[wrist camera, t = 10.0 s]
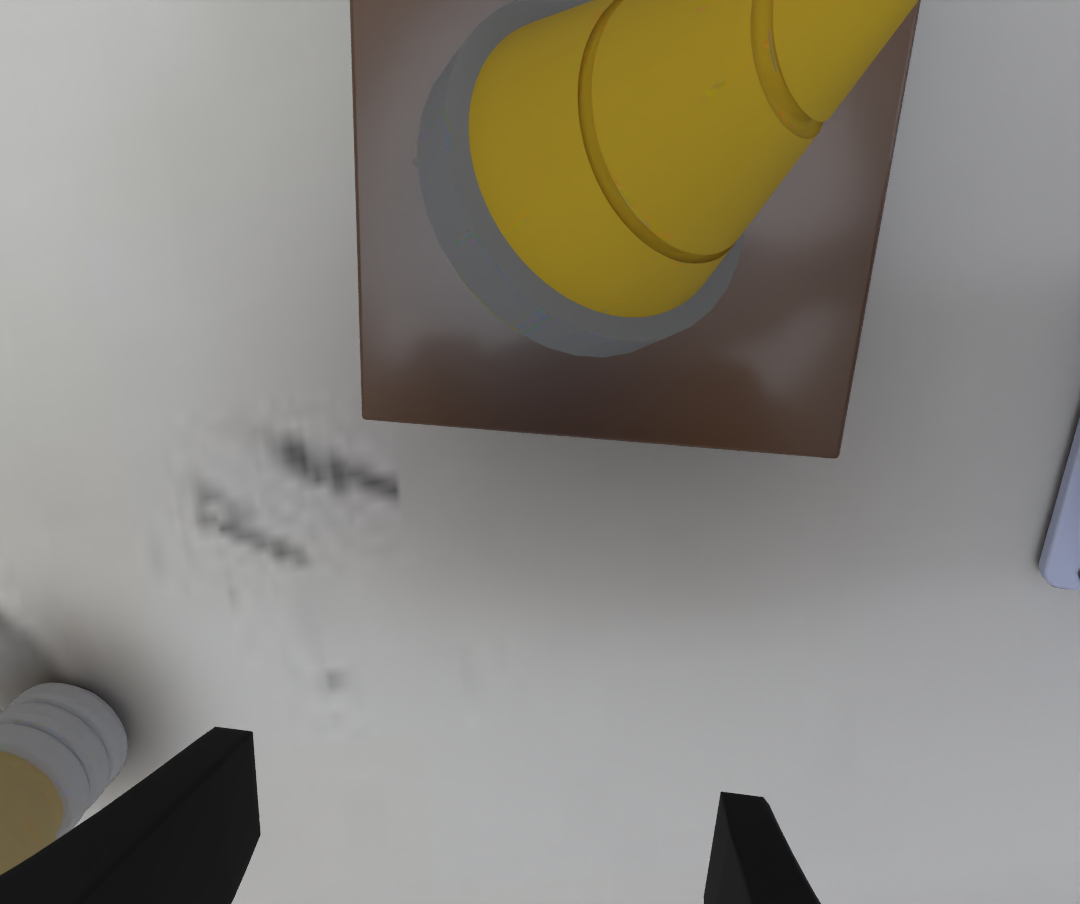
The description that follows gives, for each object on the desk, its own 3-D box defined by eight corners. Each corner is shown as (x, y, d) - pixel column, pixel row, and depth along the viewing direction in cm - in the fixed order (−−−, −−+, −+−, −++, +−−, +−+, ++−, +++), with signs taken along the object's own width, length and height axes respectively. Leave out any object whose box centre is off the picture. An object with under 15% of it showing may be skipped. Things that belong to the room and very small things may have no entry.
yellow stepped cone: (394, 65, 16) (828, -588, 7) (631, 190, 18) (1170, -184, 9) (320, 334, 14) (753, -71, 6) (589, 431, 16) (1180, 250, 8)
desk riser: (903, -214, 16) (978, -317, 12) (805, 400, 20) (839, 460, 17) (406, -218, 17) (338, -316, 13) (411, 370, 21) (360, 421, 18)
